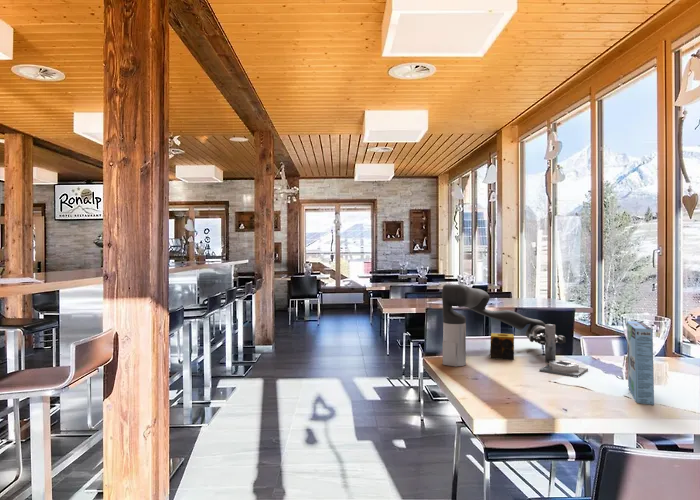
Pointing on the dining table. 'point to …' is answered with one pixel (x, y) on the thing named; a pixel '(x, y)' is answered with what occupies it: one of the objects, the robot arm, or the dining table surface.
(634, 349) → the blue cardboard box
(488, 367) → the dining table surface
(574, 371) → the collar
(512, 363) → the dining table surface
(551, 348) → the pin
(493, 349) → the brown textured cube
